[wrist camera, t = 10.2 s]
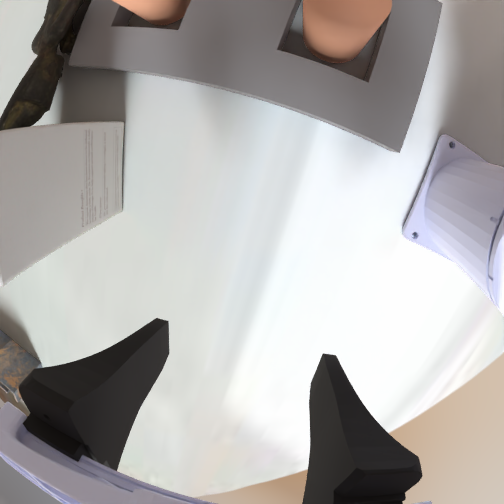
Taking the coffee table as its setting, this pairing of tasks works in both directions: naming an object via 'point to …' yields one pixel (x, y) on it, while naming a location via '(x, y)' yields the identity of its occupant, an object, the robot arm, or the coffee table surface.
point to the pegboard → (272, 60)
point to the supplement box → (55, 188)
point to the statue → (43, 67)
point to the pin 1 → (157, 9)
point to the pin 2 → (341, 26)
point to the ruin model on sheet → (14, 365)
